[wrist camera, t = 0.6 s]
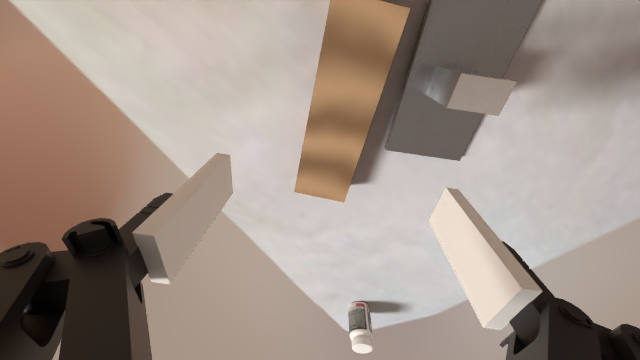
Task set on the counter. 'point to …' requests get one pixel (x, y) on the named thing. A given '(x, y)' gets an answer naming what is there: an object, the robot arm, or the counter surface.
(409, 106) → the fulcrum
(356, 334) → the pill bottle
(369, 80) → the board
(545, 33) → the counter surface
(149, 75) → the counter surface
